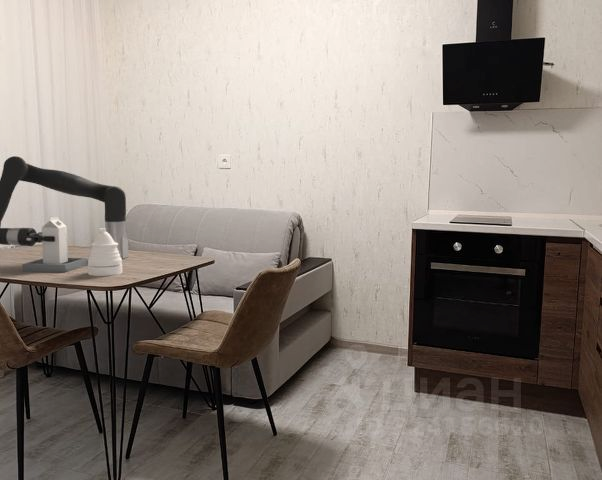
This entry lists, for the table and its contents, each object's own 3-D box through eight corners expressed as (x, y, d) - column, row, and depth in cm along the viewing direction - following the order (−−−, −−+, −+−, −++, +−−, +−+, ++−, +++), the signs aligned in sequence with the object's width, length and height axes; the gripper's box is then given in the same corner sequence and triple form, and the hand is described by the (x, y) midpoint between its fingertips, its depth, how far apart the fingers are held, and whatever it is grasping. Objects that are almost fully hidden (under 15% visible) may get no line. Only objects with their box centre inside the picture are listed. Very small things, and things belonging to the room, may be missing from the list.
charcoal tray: (87, 264, 238) (86, 258, 238) (65, 272, 221) (65, 264, 220) (47, 263, 240) (46, 257, 240) (22, 271, 222) (22, 263, 222)
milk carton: (42, 263, 227) (41, 217, 224) (51, 261, 234) (49, 216, 231) (59, 264, 226) (58, 218, 224) (68, 261, 233) (66, 216, 231)
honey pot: (117, 275, 214) (116, 229, 212) (83, 276, 213) (81, 229, 211) (125, 270, 227) (124, 226, 225) (93, 270, 226) (92, 226, 224)
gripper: (10, 229, 223) (49, 230, 221) (31, 226, 237) (68, 227, 235) (11, 248, 223) (50, 249, 222) (32, 243, 238) (68, 244, 236)
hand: (59, 237), depth 229 cm, fingers closed on milk carton, 7 cm apart
